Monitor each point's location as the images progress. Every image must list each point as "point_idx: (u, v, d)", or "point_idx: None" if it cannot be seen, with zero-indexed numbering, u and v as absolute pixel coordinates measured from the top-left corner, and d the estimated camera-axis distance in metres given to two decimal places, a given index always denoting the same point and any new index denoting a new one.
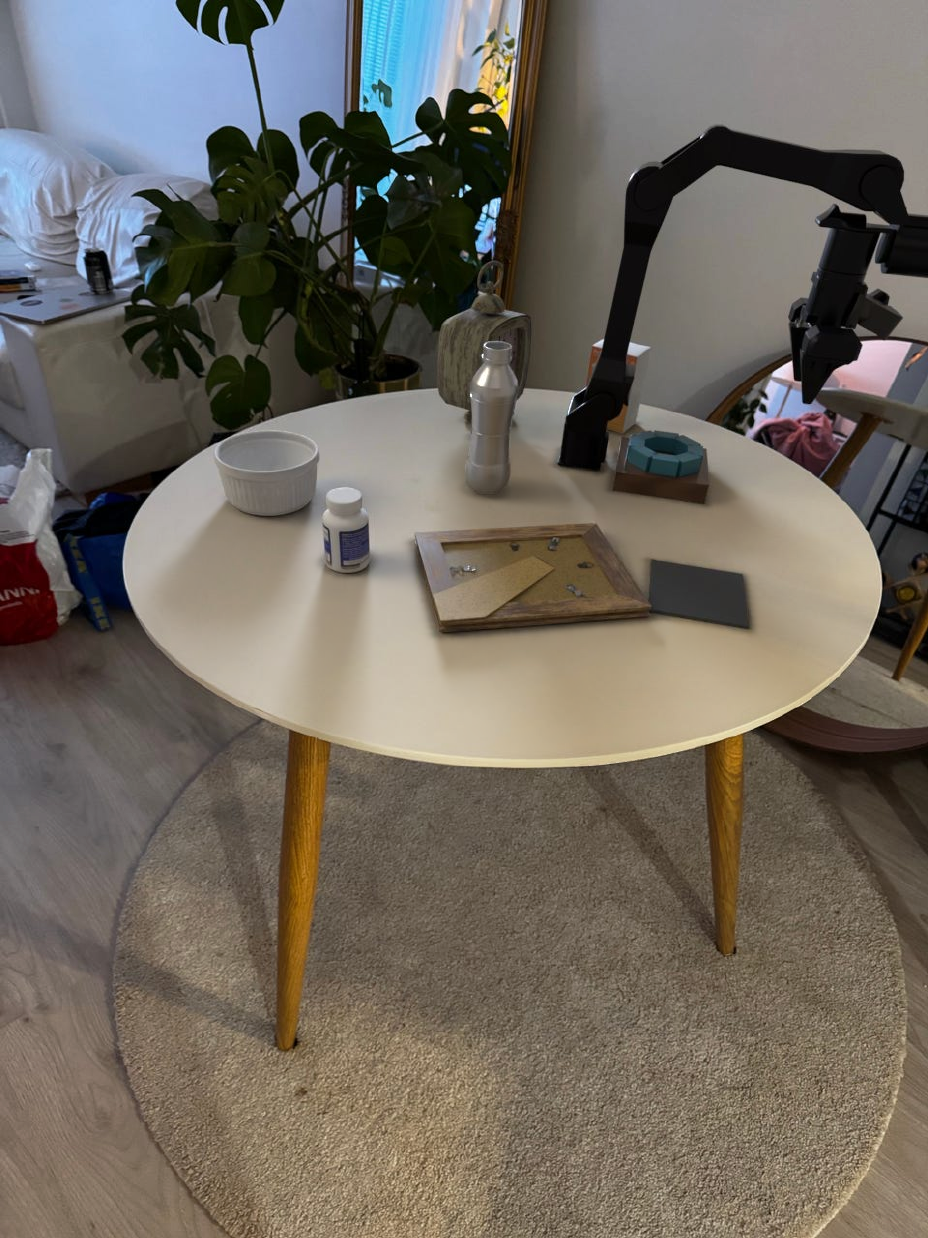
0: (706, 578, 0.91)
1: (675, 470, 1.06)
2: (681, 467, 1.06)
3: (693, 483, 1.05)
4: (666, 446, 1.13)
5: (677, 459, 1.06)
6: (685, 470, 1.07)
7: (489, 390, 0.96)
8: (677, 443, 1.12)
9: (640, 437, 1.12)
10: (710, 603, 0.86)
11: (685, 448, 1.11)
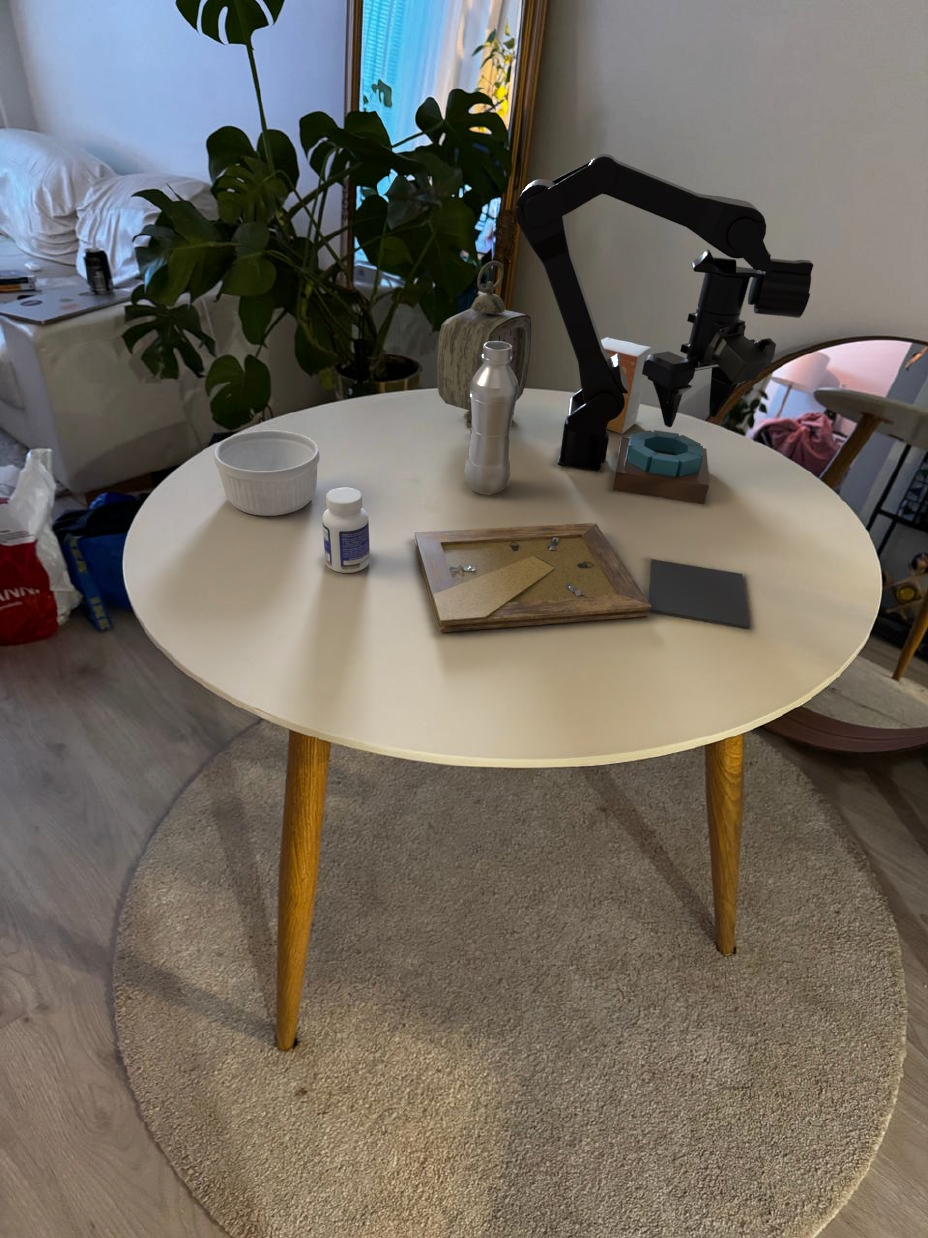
0: (706, 578, 0.91)
1: (675, 470, 1.06)
2: (681, 467, 1.06)
3: (693, 483, 1.05)
4: (666, 446, 1.13)
5: (677, 459, 1.06)
6: (685, 470, 1.07)
7: (489, 390, 0.96)
8: (677, 443, 1.12)
9: (640, 437, 1.12)
10: (710, 603, 0.86)
11: (685, 448, 1.11)
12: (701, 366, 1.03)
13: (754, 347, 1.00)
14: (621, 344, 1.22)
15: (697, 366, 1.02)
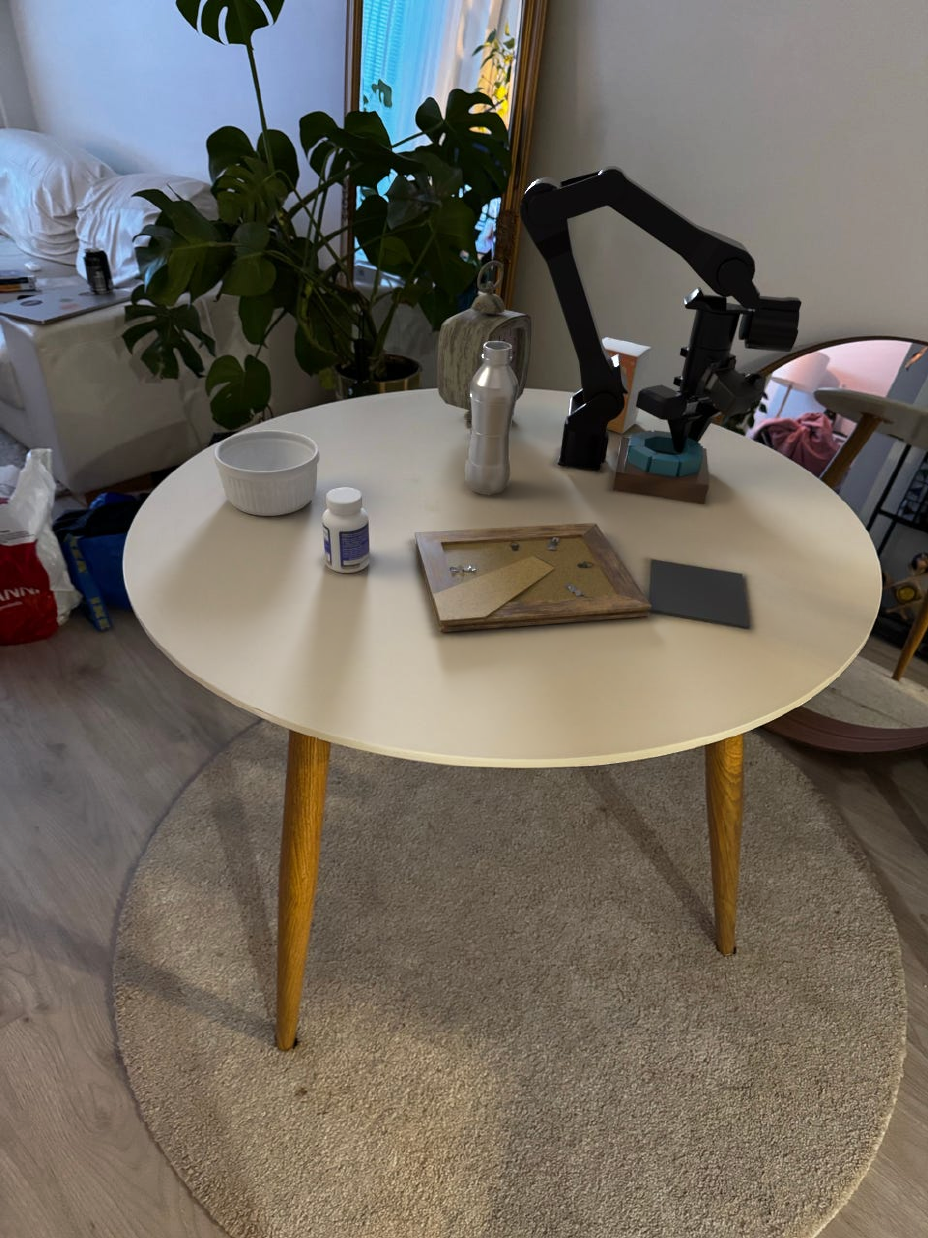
0: (706, 578, 0.91)
1: (675, 470, 1.06)
2: (681, 467, 1.06)
3: (693, 483, 1.05)
4: (666, 446, 1.13)
5: (677, 459, 1.06)
6: (685, 470, 1.07)
7: (489, 390, 0.96)
8: None
9: (640, 437, 1.12)
10: (710, 603, 0.86)
11: (685, 448, 1.11)
12: (693, 399, 1.05)
13: (745, 381, 1.02)
14: (621, 344, 1.22)
15: (689, 399, 1.05)
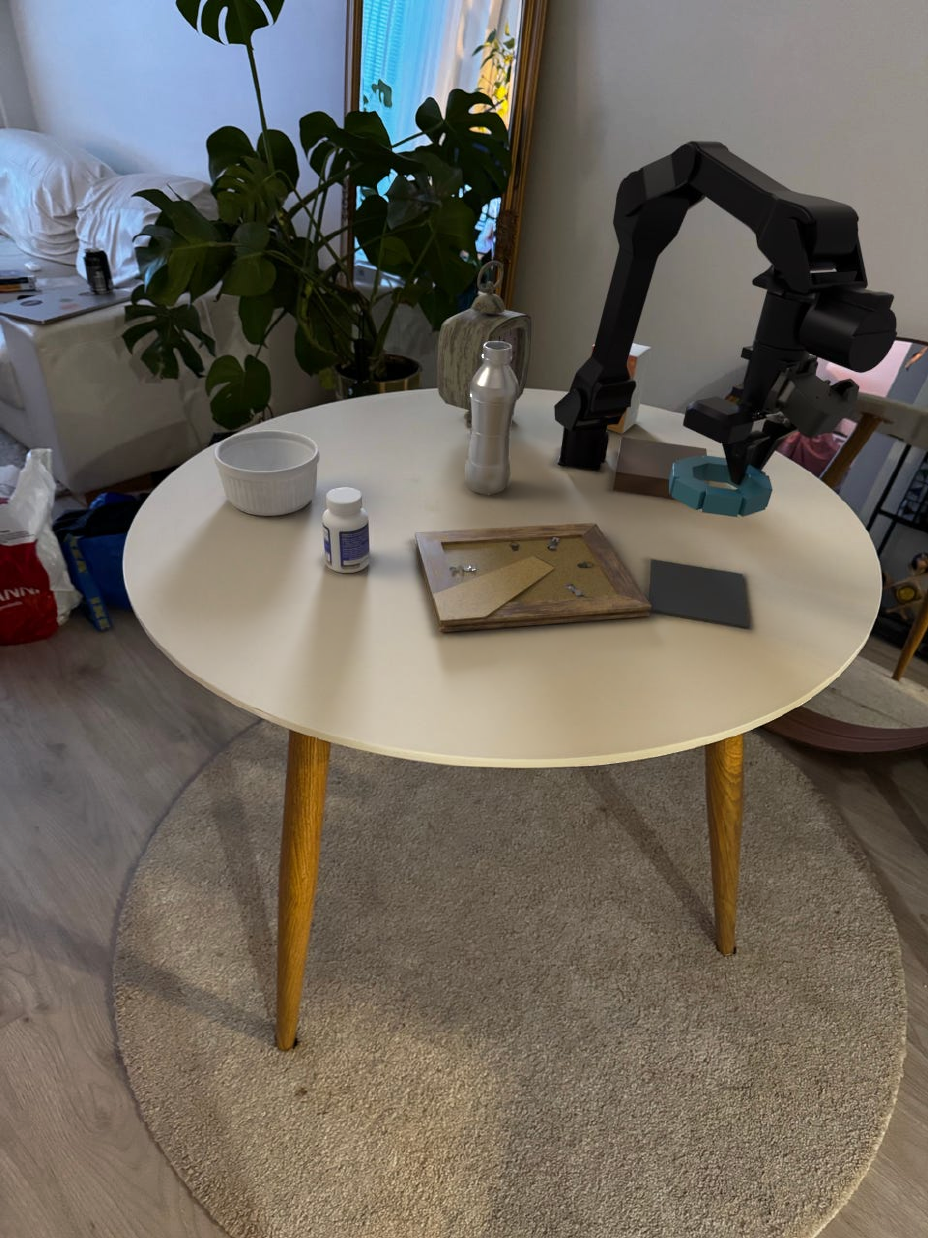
0: (706, 578, 0.91)
1: (737, 509, 0.80)
2: (745, 505, 0.80)
3: None
4: (719, 476, 0.87)
5: (739, 495, 0.80)
6: (749, 509, 0.81)
7: (489, 390, 0.96)
8: None
9: (686, 464, 0.86)
10: (710, 603, 0.86)
11: (746, 479, 0.85)
12: (760, 415, 0.79)
13: (831, 391, 0.76)
14: None
15: (755, 415, 0.79)
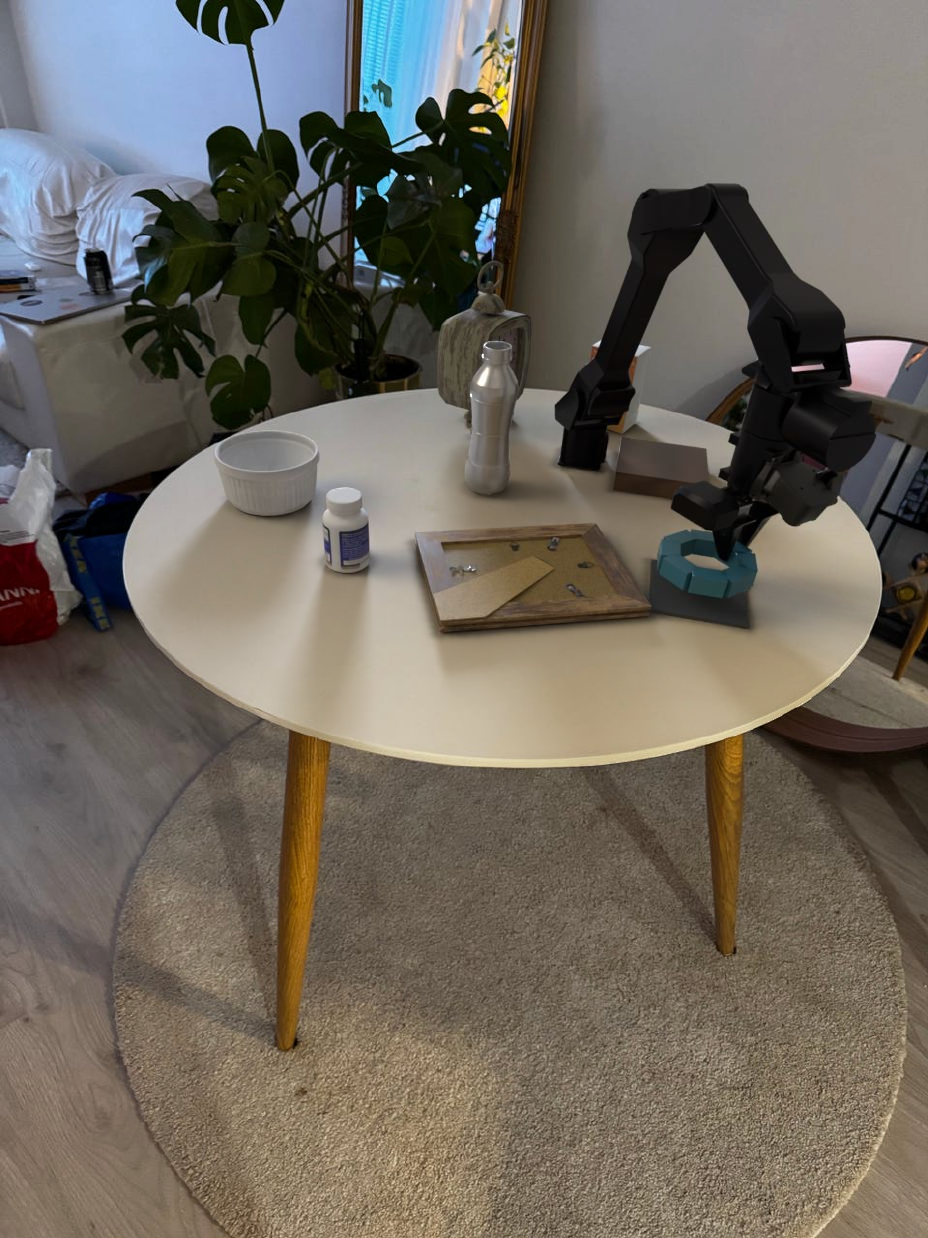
0: None
1: (722, 591, 0.82)
2: (730, 587, 0.82)
3: None
4: (707, 551, 0.89)
5: (725, 577, 0.82)
6: (734, 591, 0.82)
7: (489, 390, 0.96)
8: None
9: (674, 540, 0.87)
10: (710, 603, 0.86)
11: (732, 556, 0.86)
12: (746, 499, 0.81)
13: (815, 480, 0.78)
14: None
15: (741, 500, 0.81)
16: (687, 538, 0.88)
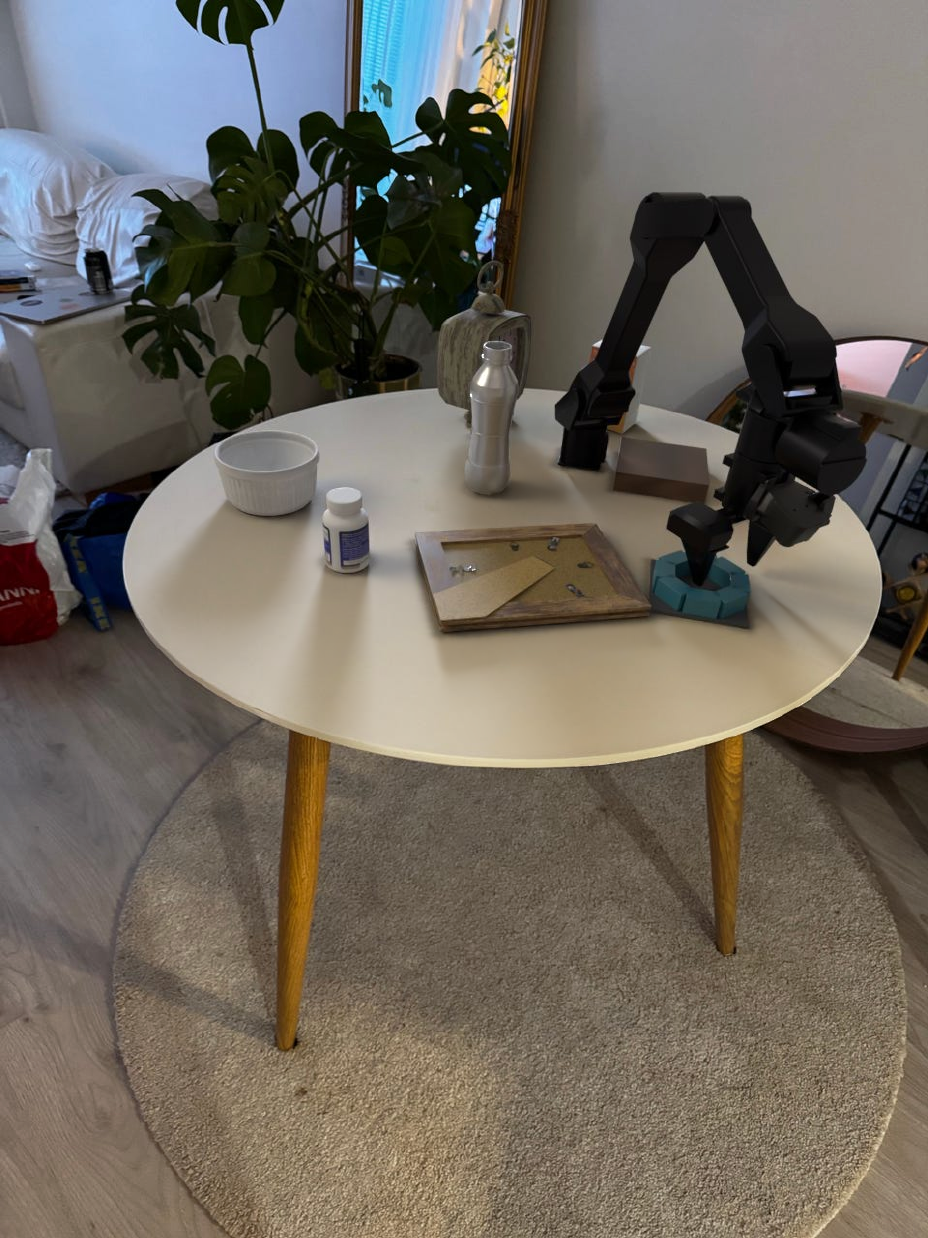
0: (706, 578, 0.91)
1: (716, 612, 0.83)
2: (724, 608, 0.83)
3: (693, 483, 1.05)
4: None
5: (718, 598, 0.83)
6: (728, 611, 0.84)
7: (489, 390, 0.96)
8: (715, 569, 0.89)
9: (669, 561, 0.89)
10: None
11: (726, 577, 0.88)
12: (740, 520, 0.82)
13: (808, 501, 0.79)
14: None
15: (735, 520, 0.82)
16: (682, 559, 0.90)
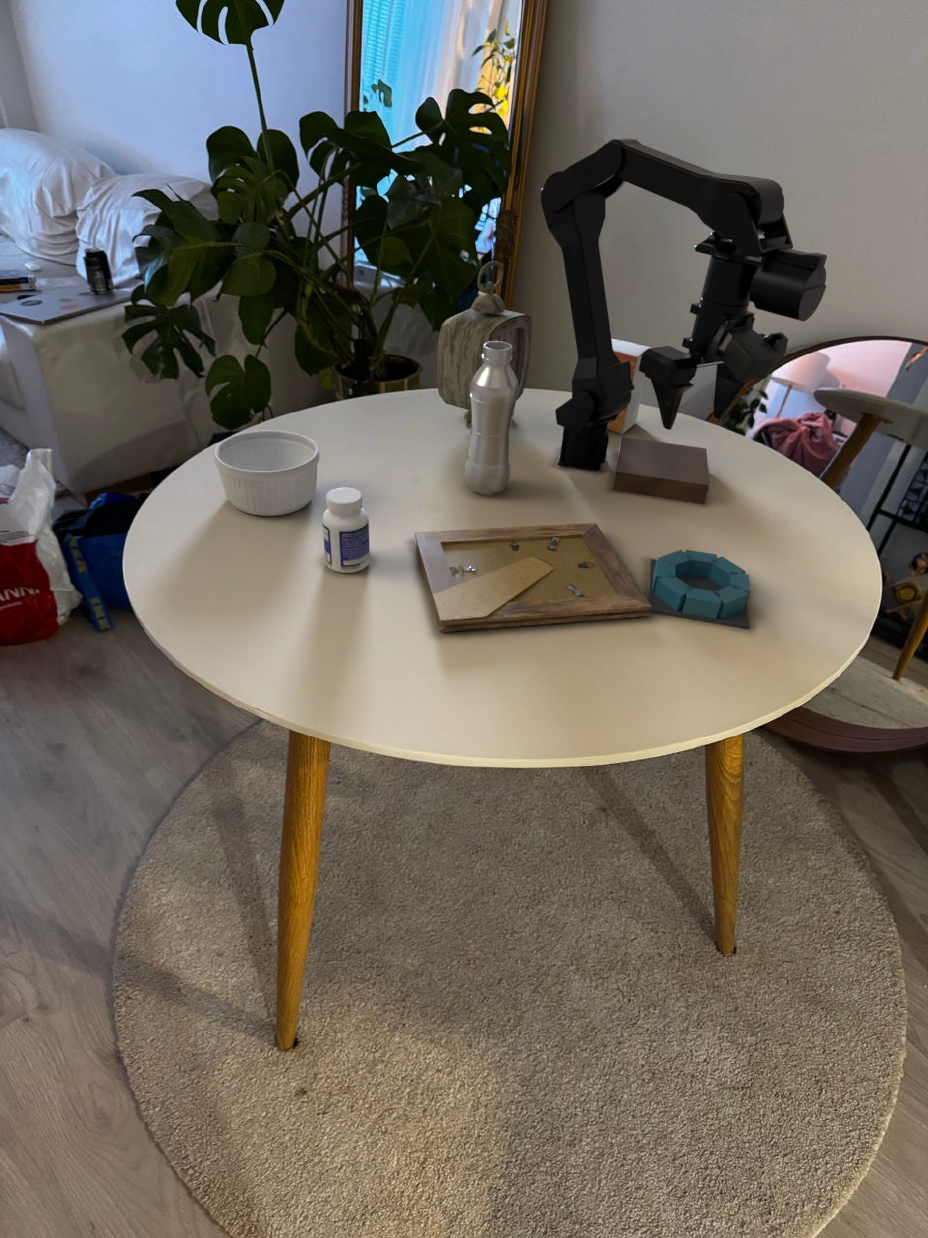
0: (706, 578, 0.91)
1: (716, 612, 0.83)
2: (724, 608, 0.83)
3: (693, 483, 1.05)
4: (701, 571, 0.90)
5: (718, 598, 0.83)
6: (728, 611, 0.84)
7: (489, 390, 0.96)
8: (715, 569, 0.89)
9: (669, 561, 0.89)
10: None
11: (726, 577, 0.88)
12: (704, 362, 0.92)
13: (763, 342, 0.89)
14: (621, 344, 1.22)
15: (700, 362, 0.92)
16: (682, 559, 0.90)
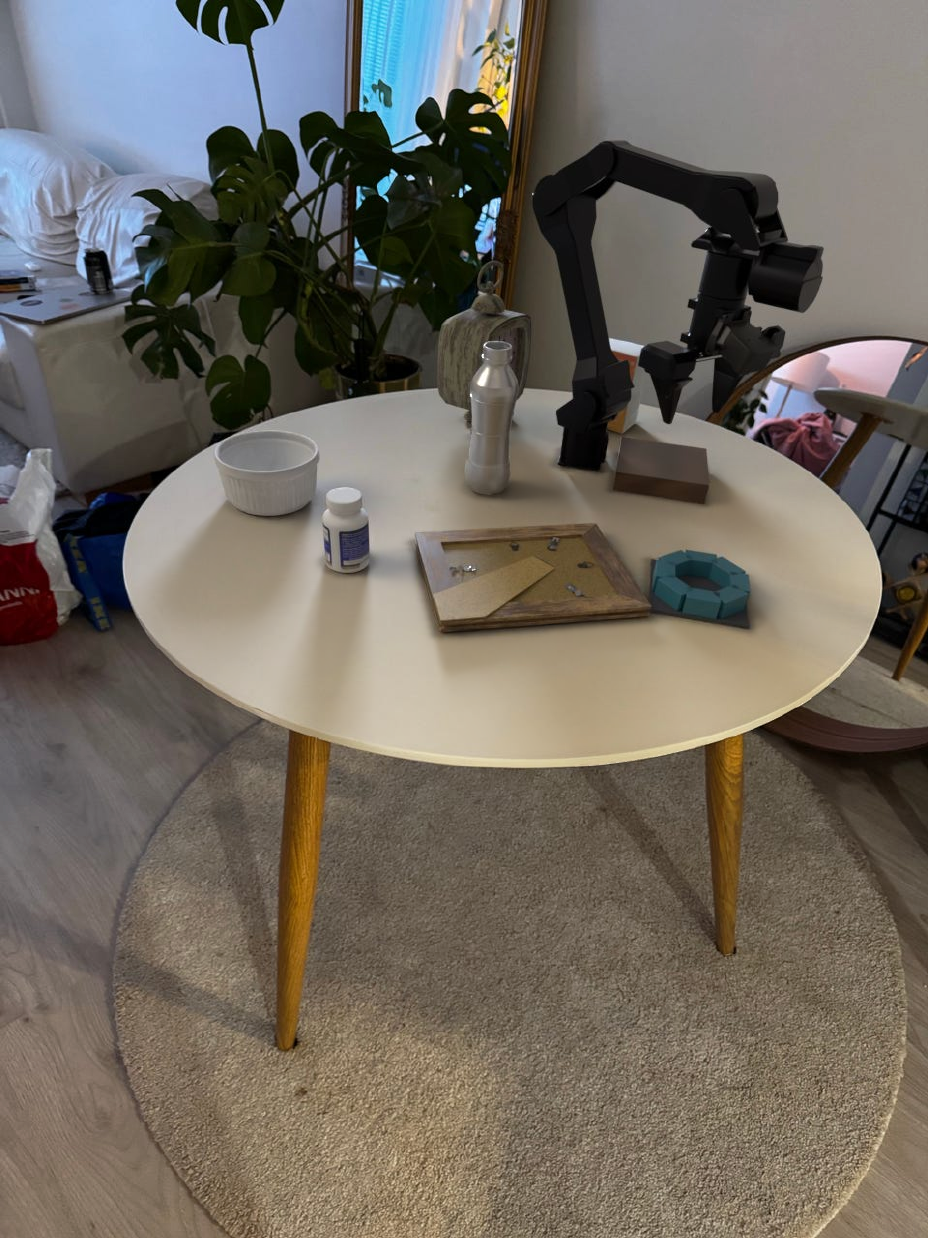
0: (706, 578, 0.91)
1: (716, 612, 0.83)
2: (724, 608, 0.83)
3: (693, 483, 1.05)
4: (701, 571, 0.90)
5: (718, 598, 0.83)
6: (728, 611, 0.84)
7: (489, 390, 0.96)
8: (715, 569, 0.89)
9: (669, 561, 0.89)
10: None
11: (726, 577, 0.88)
12: (703, 357, 0.93)
13: (761, 335, 0.90)
14: (621, 344, 1.22)
15: (698, 357, 0.93)
16: (682, 559, 0.90)
